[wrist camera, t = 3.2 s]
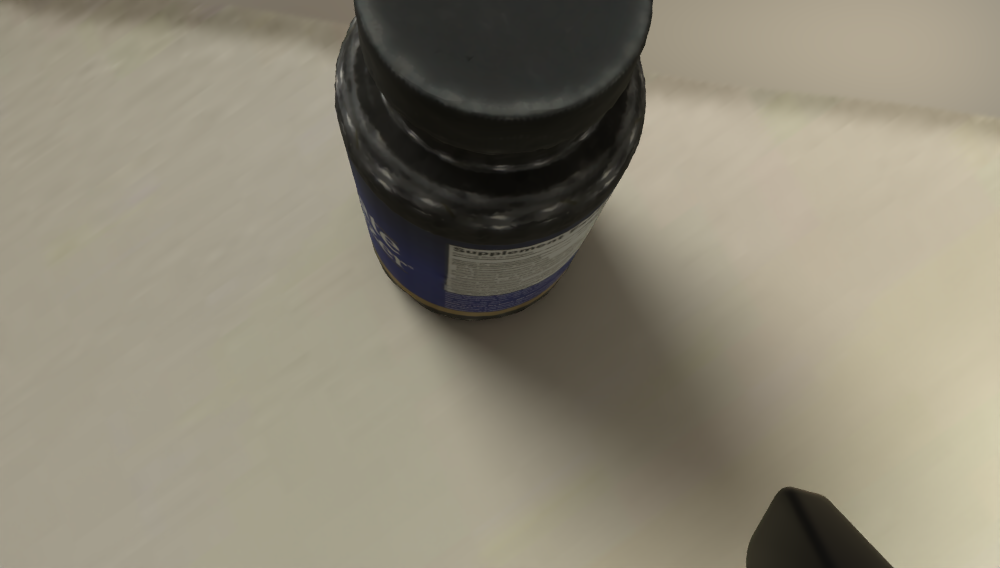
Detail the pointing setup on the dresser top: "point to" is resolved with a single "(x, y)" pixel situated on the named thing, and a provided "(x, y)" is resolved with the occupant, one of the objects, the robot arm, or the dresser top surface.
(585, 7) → the pill bottle
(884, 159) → the dresser top surface
